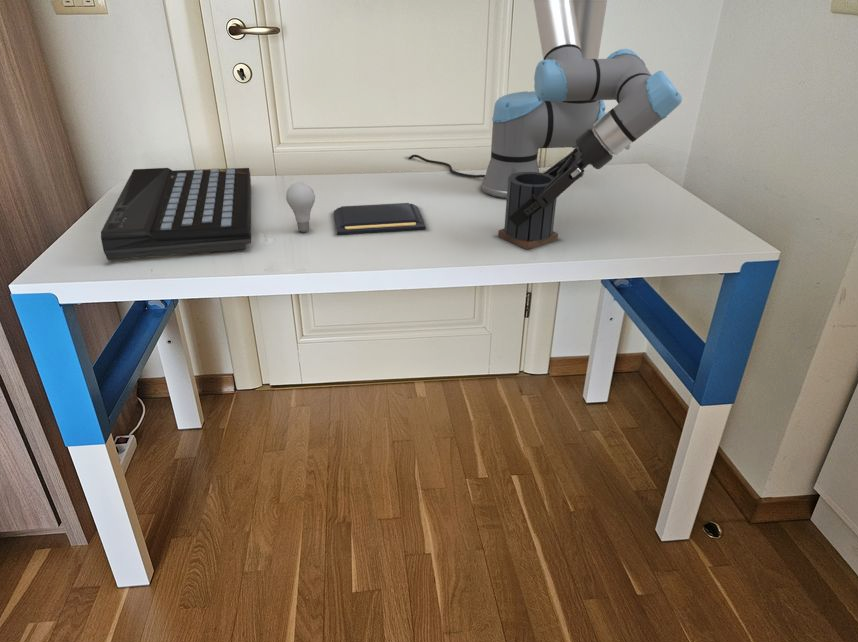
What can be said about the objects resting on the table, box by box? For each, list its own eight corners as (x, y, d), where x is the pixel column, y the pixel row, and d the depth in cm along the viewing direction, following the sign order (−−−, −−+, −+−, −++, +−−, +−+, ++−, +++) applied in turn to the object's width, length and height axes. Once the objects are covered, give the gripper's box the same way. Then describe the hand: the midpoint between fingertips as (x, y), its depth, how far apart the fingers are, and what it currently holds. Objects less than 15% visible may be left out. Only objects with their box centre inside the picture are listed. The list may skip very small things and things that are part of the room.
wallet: (417, 199, 156) (426, 222, 143) (417, 207, 157) (425, 230, 144) (333, 203, 154) (334, 226, 141) (333, 211, 155) (335, 235, 142)
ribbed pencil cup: (495, 230, 141) (498, 177, 134) (528, 220, 146) (533, 169, 140) (528, 244, 134) (533, 189, 128) (561, 233, 139) (568, 180, 133)
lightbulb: (295, 239, 140) (289, 189, 134) (286, 229, 145) (280, 180, 139) (322, 234, 142) (318, 184, 137) (312, 225, 147) (308, 177, 141)
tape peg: (497, 236, 141) (500, 194, 136) (527, 227, 146) (531, 186, 141) (527, 249, 135) (531, 205, 130) (557, 239, 140) (562, 196, 135)
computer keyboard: (252, 253, 133) (247, 222, 130) (107, 265, 128) (98, 233, 125) (252, 186, 171) (248, 160, 167) (139, 193, 166) (133, 167, 162)
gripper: (616, 172, 118) (522, 245, 130) (613, 142, 137) (531, 208, 148) (590, 141, 116) (497, 218, 128) (591, 114, 135) (510, 183, 147)
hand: (515, 212), depth 138 cm, fingers closed on ribbed pencil cup, 10 cm apart
